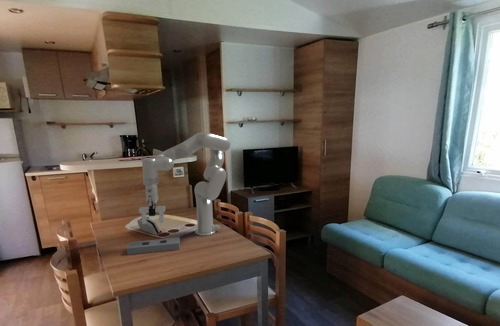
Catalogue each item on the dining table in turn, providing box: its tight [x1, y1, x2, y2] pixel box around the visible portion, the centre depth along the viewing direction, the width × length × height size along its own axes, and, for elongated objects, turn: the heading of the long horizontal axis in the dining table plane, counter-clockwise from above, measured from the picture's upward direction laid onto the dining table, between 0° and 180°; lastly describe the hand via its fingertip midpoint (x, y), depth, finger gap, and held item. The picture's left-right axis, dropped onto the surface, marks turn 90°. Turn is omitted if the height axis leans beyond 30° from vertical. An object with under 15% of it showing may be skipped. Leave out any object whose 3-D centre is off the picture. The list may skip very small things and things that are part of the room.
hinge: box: [136, 217, 162, 235], centre depth 173 cm, size 17×5×10 cm, turn 54°
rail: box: [126, 236, 181, 256], centre depth 148 cm, size 26×8×4 cm, turn 103°
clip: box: [138, 205, 166, 224], centre depth 148 cm, size 13×3×8 cm, turn 101°
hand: (152, 214), depth 148 cm, fingers closed on clip, 3 cm apart
